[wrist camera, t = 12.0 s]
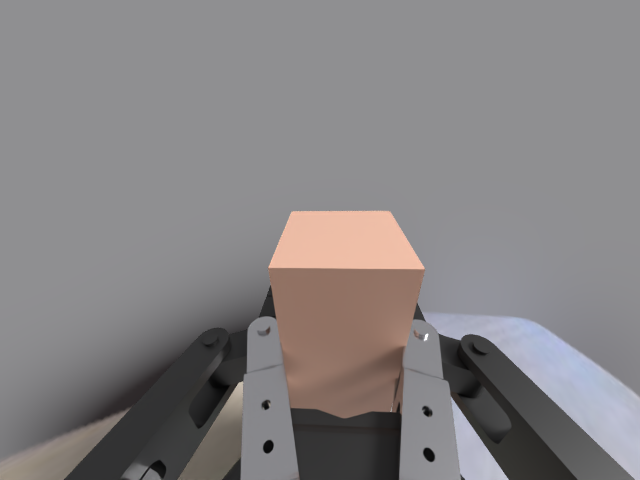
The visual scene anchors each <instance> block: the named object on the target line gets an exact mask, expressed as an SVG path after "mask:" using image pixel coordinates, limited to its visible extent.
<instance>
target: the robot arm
mask: <svg viewBox="0 0 640 480" xmlns="http://www.w3.org/2000/svg"><path fill="white" fill-rule="evenodd" d="M242 381H243V414H242V448H241V458H240V459H239V460H238V461H237V462H236V464H235V465H234V466H233V467H232V469H231V470H230V471H229V472H228V473H227V475H226V476H225V477H224V478H223V479H222V480H465V479H464V478H463V477H462V475H461V474H460V468H459V460H458V452H457V444H456V435H455V427H454V419H453V411H452V403H451V397H452V398H453V400H454V401H455V403H456V404H457V405H458V407H459V408H460V410H461V411H462V413H463V414H464V416H465V417H466V418H467V420H468V421H469V423H470V424H471V426H472V427H473V429H474V430H475V431H476V433H477V434H478V436H479V437H480V439H481V440H482V442H483V443H484V444H485V446H486V447H487V449H488V450H489V452H490V453H491V455H492V456H493V457H494V459H495V460H496V462H497V463H498V465H499V466H500V467H501V469H502V470H503V472H504V473H505V475H506V476H507V478H508V479H509V480H635V479H634V478H633V477H632V476H631V475H629V474H628V473H627V472H626V471H625V470H624V469H623V468H622V467H621V466H620V465H619V464H618V463H617V462H616V461H615V460H614V459H613V458H612V457H611V456H610V455H609V454H608V453H607V452H606V451H604V450H603V449H602V448H601V447H600V446H599V445H598V444H597V443H596V442H595V441H594V440H593V439H592V438H591V437H590V436H589V435H588V434H587V433H586V432H585V431H584V430H583V429H582V428H581V427H580V426H578V425H577V424H576V423H575V422H574V421H573V420H572V419H571V418H570V417H569V416H568V415H567V414H566V413H565V412H564V411H563V410H562V409H561V408H560V407H559V406H558V405H557V404H556V403H555V402H553V401H552V400H551V399H550V398H549V397H548V396H547V395H546V394H545V393H544V392H543V391H542V390H541V389H540V388H539V387H538V386H537V385H536V384H535V383H534V382H533V381H532V380H531V379H530V378H529V377H527V376H526V375H525V374H524V373H523V372H522V371H521V370H520V369H519V368H518V367H517V366H516V365H515V364H514V363H513V362H512V361H511V360H510V359H509V358H508V357H507V356H506V355H505V354H504V353H502V352H501V351H500V350H499V349H498V348H497V347H496V346H495V345H494V344H493V343H492V342H490V341H489V340H487V339H486V338H483V337H481V336H478V335H473V334H469V335H465V336H463V337H462V339H461V341H460V340H456V339H453V338H449V337H446V336H443V335H441V334H439V333H438V332H437V331H436V329H435V328H434V327H433V326H432V325H430V324H429V323H427V322H426V321H425V319H424V317H423V314H422V312H421V310H420V308H419V306H418V303H417V305H416V309H415V313H414V317H413V321H412V325H411V329H410V333H409V337H408V341H407V346H403V350H402V354H401V370H400V374H399V378H396V379H395V384H394V394H393V406H392V412H376V411H371V412H368V413H364V414H360V415H357V416H353V417H349V418H341V417H338V416H335V415H332V414H329V413H326V412H323V411H321V410H318V409H303V408H291V403H290V396H289V389H288V381H287V375H286V371H285V364H284V356H283V349H282V343H280V339H279V332H278V326H277V320H276V314H275V307H274V301H273V295H272V288H271V285H270V288H269V291H268V294H267V297H266V300H265V302H264V305H263V307H262V310H261V313H260V316H259V318H258V319H256V320H255V321H253V322H252V323H251V324H250V326H249V328H248V329H246V330H244V331H240V332H237V333H232V334H228V332H227V331H226V330H225V329H223V328H213V329H210V330H208V331H205V332H204V333H202V334H201V335H200V336H199V337H198V338H197V339H196V340H195V341H194V342H193V343H192V344H191V345H190V347H189V348H188V349H187V350H186V351H185V352H184V353H183V354H182V355H181V356H180V357H179V358H178V359H177V360H176V361H175V362H174V364H173V365H172V366H171V367H170V368H169V369H168V370H167V371H166V372H165V373H164V374H163V375H162V376H161V377H160V378H159V379H158V380H157V381H156V383H155V384H154V385H153V386H152V387H151V388H150V389H149V390H148V391H147V392H146V393H145V394H144V395H143V397H141V399H140V400H139V401H138V402H137V403H136V404H135V405H134V406H133V407H132V408H131V409H130V410H129V411H128V412H127V413H126V414H125V415H124V417H123V418H122V419H121V420H120V421H119V422H118V423H117V424H116V425H115V426H114V427H113V428H112V429H111V430H110V431H109V432H108V434H107V435H106V436H105V437H104V438H103V439H102V440H101V441H100V442H99V443H98V444H97V445H96V446H95V447H94V448H93V449H92V451H91V452H90V453H89V454H88V455H87V456H86V457H85V458H84V459H83V460H82V461H81V462H80V463H79V464H78V465H77V466H76V467H75V469H74V470H73V471H72V472H71V473H70V474H69V475H68V476H67V477H66V478H65V479H64V480H177V479H178V478H179V476H180V474H181V473H182V471H183V470H184V468H185V467H186V465H187V463H188V462H189V460H190V459H191V457H192V456H193V454H194V452H195V451H196V449H197V448H198V446H199V444H200V443H201V441H202V440H203V438H204V437H205V435H206V433H207V432H208V430H209V429H210V427H211V425H212V424H213V422H214V421H215V419H216V418H217V416H218V414H219V413H220V411H221V410H222V408H223V407H224V405H225V403H226V402H227V400H228V399H229V397H230V395H231V394H232V392H233V391H234V389H235V388H236V386H237V384H238V383H239V382H242Z"/></svg>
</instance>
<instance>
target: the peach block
mask: <svg viewBox="0 0 640 480" xmlns="http://www.w3.org/2000/svg"><path fill="white" fill-rule="evenodd" d="M268 270H269V275H270V282H271V288H272V295H273V301H274V307H275V314H276V320H277V326H278V332H279V339H280V343H282V349H283V356H284V364H285V371H286V375H287V381H288V389H289V396H290V403H291V408H303V409H318V410H321V411H323V412H326V413H329V414H332V415H335V416H338V417H341V418H349V417H353V416H357V415H360V414H364V413H368V412H371V411H376V412H390V411H391V407H392V403H393V394H394V384H395V379H396V378H399V374H400V370H401V354H402V350H403V346H407V341H408V337H409V333H410V329H411V325H412V321H413V317H414V313H415V309H416V305H417V300H418V296H419V292H420V288H421V284H422V280H423V276H424V271H425V268H424V267H423V265H422V263H421V262H420V260H419V258H418V257H417V255H416V253H415V252H414V250H413V249H412V247H411V245H410V244H409V242H408V240H407V239H406V237H405V235H404V234H403V232H402V230H401V229H400V227H399V226H398V224H397V222H396V220H395V219H394V217H393V216H392V214H391V212H390V211H292V213H291V215H290V217H289V220H288V222H287V224H286V227H285V229H284V231H283V234H282V236H281V239H280V241H279V243H278V246H277V248H276V251H275V253H274V255H273V258H272V261H271V262H270V265H269V267H268Z"/></svg>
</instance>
